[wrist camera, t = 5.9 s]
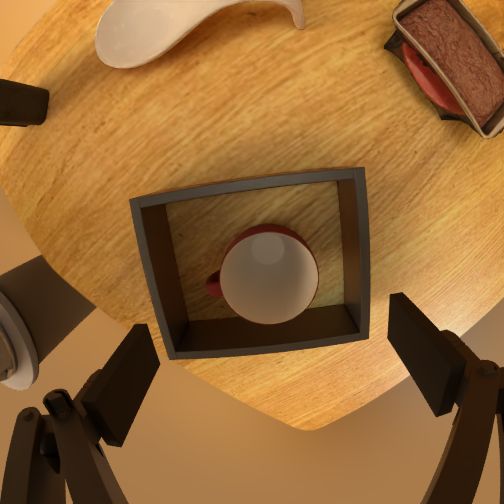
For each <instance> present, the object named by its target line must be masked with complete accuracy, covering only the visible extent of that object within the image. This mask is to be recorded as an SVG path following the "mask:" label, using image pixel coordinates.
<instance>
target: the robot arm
mask: <svg viewBox="0 0 504 504" xmlns="http://www.w3.org/2000/svg"><path fill="white" fill-rule="evenodd" d="M387 338H388V340H389V342H390V343H391V345H392V346H393V348H394V349H395V351H396V352H397V354H398V356H399V357H400V359H401V360H402V362H403V363H404V365H405V367H406V368H407V370H408V371H409V373H410V375H411V376H412V378H413V379H414V381H415V383H416V384H417V386H418V388H419V389H420V391H421V392H422V394H423V396H424V398H425V399H426V401H427V403H428V404H429V406H430V408H431V410H432V411H433V413H434V415H435V416H436V417H439V416H441V415H444V414H447V413H450V412H451V411H452V408H453V405H454V402H455V403H456V404H457V406H458V407H459V408H458V411H457V414H456V416H455V419H454V421H453V424H452V425H453V427H452V430H451V433H450V436H449V439H448V441H447V444H446V447H445V450H444V452H443V454H442V457H441V460H440V462H439V464H438V467H437V469H436V472H435V474H434V476H433V479H432V481H431V483H430V485H429V487H428V489H427V492H426V494H425V496H424V498H423V500H422V502H421V504H472V502H473V499H474V496H475V493H476V490H477V487H478V484H479V481H480V478H481V474H482V471H483V467H484V464H485V460H486V456H487V452H488V448H489V443H490V439H491V434H492V429H493V423H494V418H495V414H496V416H497V424H498V433H499V448H500V474H501V475H500V477H501V478H500V504H504V367H501V368H499V366H498V365H497V364H496V363H494V362H493V361H489V360H480V359H479V358H478V357H477V356H476V355H475V354H474V353H473V352H472V351H471V349H470V348H469V347H468V346H467V345H465V343H464V342H463V341H461V339H460V338H459V337H458V336H457V335H456V334H455V333H453V332H451V331H449V330H447V329H446V330H443V331H440V330H439V329H438V328H437V327H436V326H435V325H434V324H433V323H432V322H431V321H430V320H429V319H428V318H427V317H426V316H425V315H424V314H423V312H422V311H421V310H420V309H419V308H418V307H417V306H416V305H415V304H414V303H413V302H412V301H411V300H410V299H409V298H408V297H407V296H406V295H405V294H404V293H403V292H400V293H395V294H390V301H389V321H388V336H387ZM159 366H160V362H159V359H158V356H157V353H156V350H155V347H154V344H153V341H152V338H151V335H150V332H149V329H148V325H147V324H135V325H134V326H133V327H132V329H131V330H130V331H129V333H128V334H127V336H126V337H125V338H124V340H123V341H122V342H121V344H120V345H119V346H118V348H117V349H116V351H115V352H114V353H113V355H112V356H111V357H110V359H109V360H108V361H107V363H106V364H105V366H104V367H103V368H102V369H98V370H97V371H96V372H94V373H93V374H92V375H91V376H90V377H89V379H88V380H87V383H85V384H84V386H83V388H81V390H80V391H79V392H78V394H77V395H76V397H75V398H74V399H73V401H72V399H71V398H70V395H69V394H68V392H67V390H64V389H56V390H53V391H51V392H49V393H48V394H47V395H46V396H45V397H44V399H43V404H44V405H45V407H46V409H47V410H48V412H49V414H50V415H41V413H40V412H39V410H38V409H37V408H35V407H28V408H25V409H23V410H22V411H21V412H20V413H19V415H18V417H17V419H16V423H15V427H14V431H13V435H12V439H11V443H10V447H9V452H8V457H7V461H6V467H5V473H4V479H3V484H2V491H1V499H0V504H66V495H65V494H66V490H65V479H66V482H67V486H68V489H69V492H70V495H71V498H72V501H73V504H128V502H127V500H126V498H125V496H124V494H123V492H122V490H121V488H120V486H119V484H118V482H117V480H116V478H115V476H114V474H113V472H112V470H111V467H110V465H109V463H108V461H107V459H106V456H105V454H104V451H103V449H102V447H101V445H100V444H99V440H100V439H101V437H102V438H103V440H104V441H105V443H106V444H107V445H110V446H116V447H122V445H123V443H124V440H125V438H126V436H127V434H128V432H129V429H130V427H131V425H132V423H133V421H134V419H135V416H136V414H137V412H138V410H139V408H140V406H141V404H142V401H143V399H144V397H145V395H146V393H147V391H148V389H149V387H150V385H151V383H152V380H153V378H154V376H155V374H156V372H157V370H158V368H159ZM17 367H18V361H17V356H16V352H15V349H14V346H13V344H12V342H11V340H10V338H9V336H8V334H7V332H6V330H5V329H4V327H3V326H2V324H1V323H0V382H2V381H4V380H7V379H9V378H10V377H11V376H12V375H13V374H14V373H15V372H16V371H17Z"/></svg>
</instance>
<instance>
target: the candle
mask: <svg viewBox="0 0 504 504" xmlns="http://www.w3.org/2000/svg"><path fill="white" fill-rule="evenodd" d="M48 101H49V91H48V90H46V89H43V88H39V87H35V86H31V85H27V84H22V83H18V82H14V81H9V80H5V79H0V125H4V126H20V127H27V126H28V125H41V124H42V123H43V122H44V121H45V119H46V114H47V107H48Z"/></svg>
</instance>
